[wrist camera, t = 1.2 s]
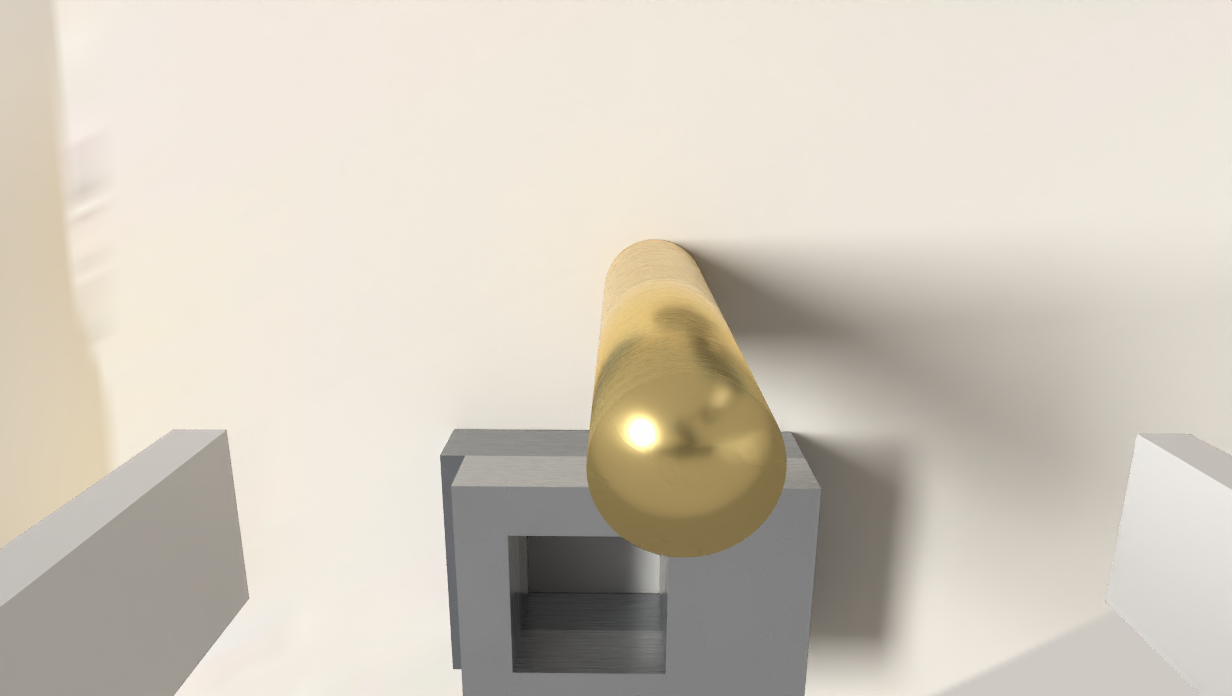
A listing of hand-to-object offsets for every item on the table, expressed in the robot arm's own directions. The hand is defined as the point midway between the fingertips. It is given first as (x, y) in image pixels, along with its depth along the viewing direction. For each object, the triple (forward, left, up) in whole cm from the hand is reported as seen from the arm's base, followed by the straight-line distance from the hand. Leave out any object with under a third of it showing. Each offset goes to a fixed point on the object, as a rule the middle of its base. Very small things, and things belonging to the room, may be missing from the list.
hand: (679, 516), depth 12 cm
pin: (0, 0, -15) cm, 15 cm away
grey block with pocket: (+2, +9, -15) cm, 18 cm away
